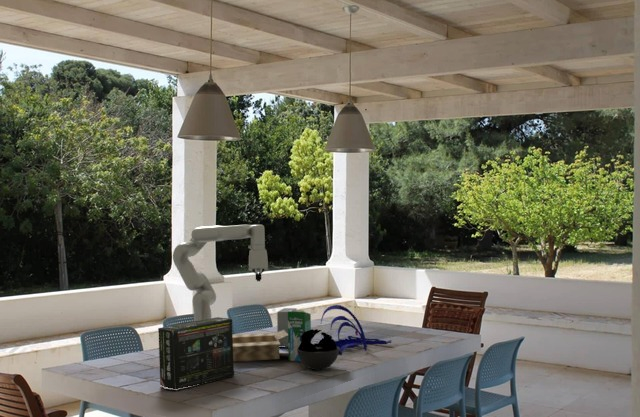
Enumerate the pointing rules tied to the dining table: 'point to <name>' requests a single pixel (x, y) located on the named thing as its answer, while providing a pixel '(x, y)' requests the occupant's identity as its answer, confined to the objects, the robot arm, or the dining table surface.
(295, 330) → the milk carton
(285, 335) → the right flap
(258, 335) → the carton
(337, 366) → the dining table surface
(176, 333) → the router box
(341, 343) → the sculpture
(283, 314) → the hard drive box
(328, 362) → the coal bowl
